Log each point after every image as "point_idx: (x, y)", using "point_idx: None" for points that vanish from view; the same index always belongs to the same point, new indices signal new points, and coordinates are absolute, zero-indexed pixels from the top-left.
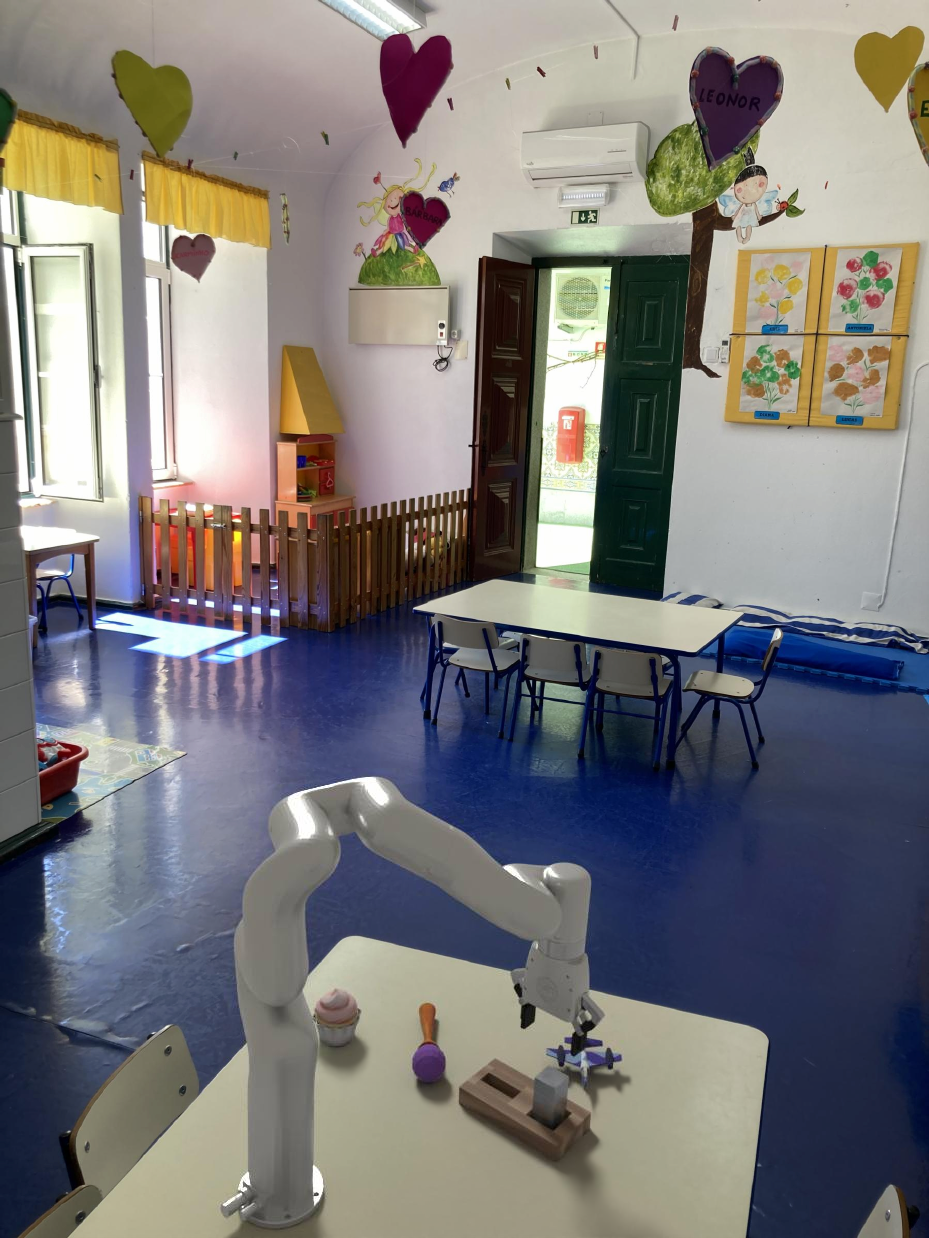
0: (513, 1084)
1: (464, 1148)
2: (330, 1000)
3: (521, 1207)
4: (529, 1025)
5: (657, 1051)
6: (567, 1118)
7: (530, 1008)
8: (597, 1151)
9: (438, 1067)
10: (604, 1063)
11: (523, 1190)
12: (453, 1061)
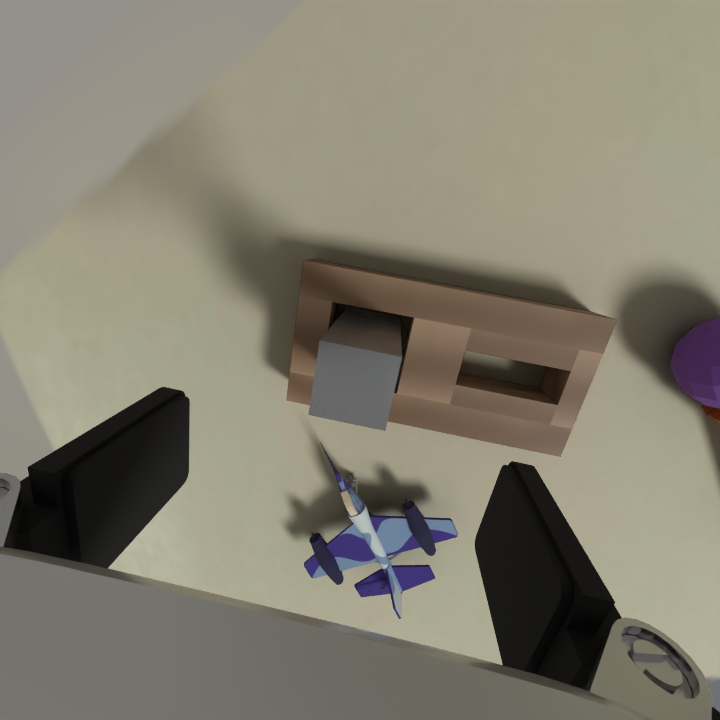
0: (482, 396)
1: (519, 176)
2: None
3: (319, 80)
4: (488, 504)
5: None
6: None
7: (528, 612)
8: (257, 334)
9: (707, 348)
10: (329, 542)
11: (337, 135)
12: (651, 425)
